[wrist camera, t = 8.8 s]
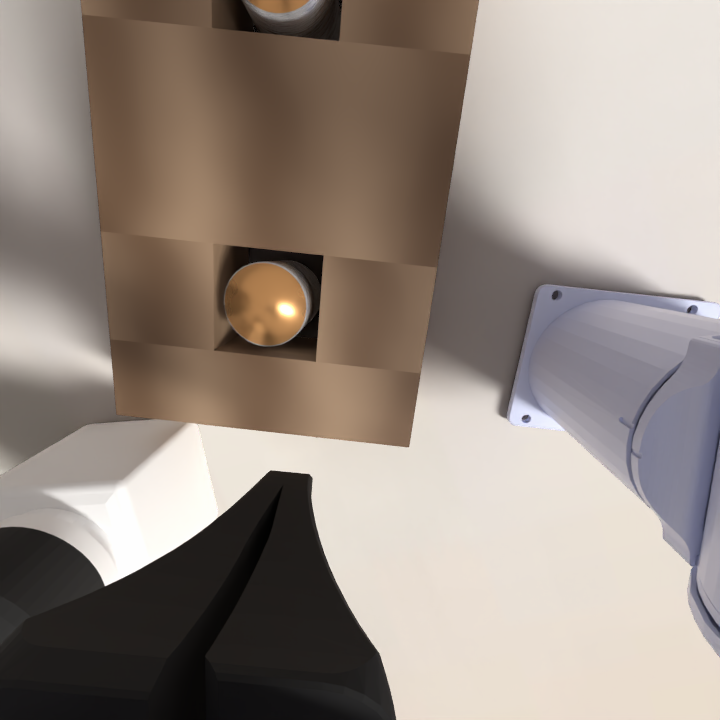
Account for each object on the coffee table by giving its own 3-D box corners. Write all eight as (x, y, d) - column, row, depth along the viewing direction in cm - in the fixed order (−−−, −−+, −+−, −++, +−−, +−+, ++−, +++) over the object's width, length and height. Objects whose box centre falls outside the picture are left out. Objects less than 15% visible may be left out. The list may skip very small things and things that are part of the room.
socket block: (480, -128, 15) (522, -280, 11) (402, 409, 22) (409, 447, 17) (143, -161, 15) (52, -325, 11) (167, 383, 22) (116, 414, 18)
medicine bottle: (86, 422, 23) (-207, 592, 11) (198, 413, 22) (11, 582, 11) (117, 519, 25) (-106, 749, 13) (221, 513, 24) (82, 746, 13)
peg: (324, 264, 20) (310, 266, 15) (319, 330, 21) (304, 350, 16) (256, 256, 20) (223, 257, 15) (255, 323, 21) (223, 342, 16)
